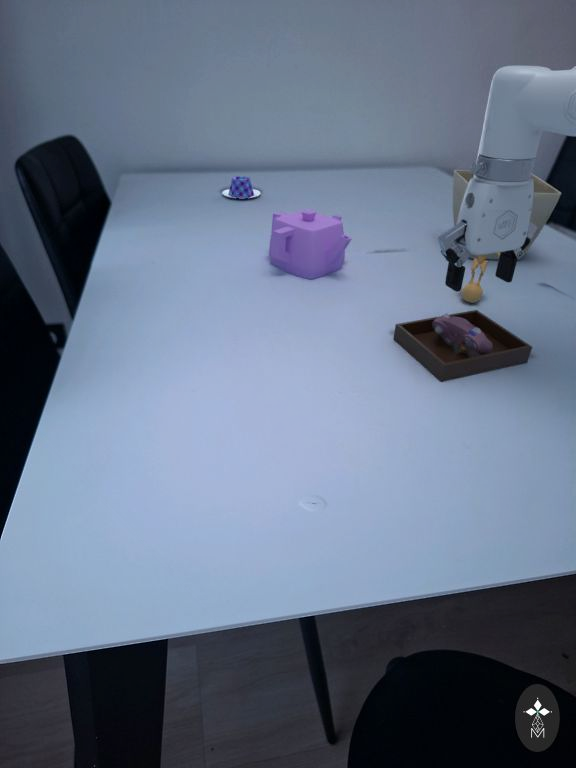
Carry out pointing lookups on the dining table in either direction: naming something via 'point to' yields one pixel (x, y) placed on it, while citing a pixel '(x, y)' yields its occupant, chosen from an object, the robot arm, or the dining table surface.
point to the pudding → (241, 188)
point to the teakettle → (307, 243)
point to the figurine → (474, 290)
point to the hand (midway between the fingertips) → (478, 283)
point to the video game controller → (462, 334)
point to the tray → (451, 359)
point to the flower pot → (541, 206)
